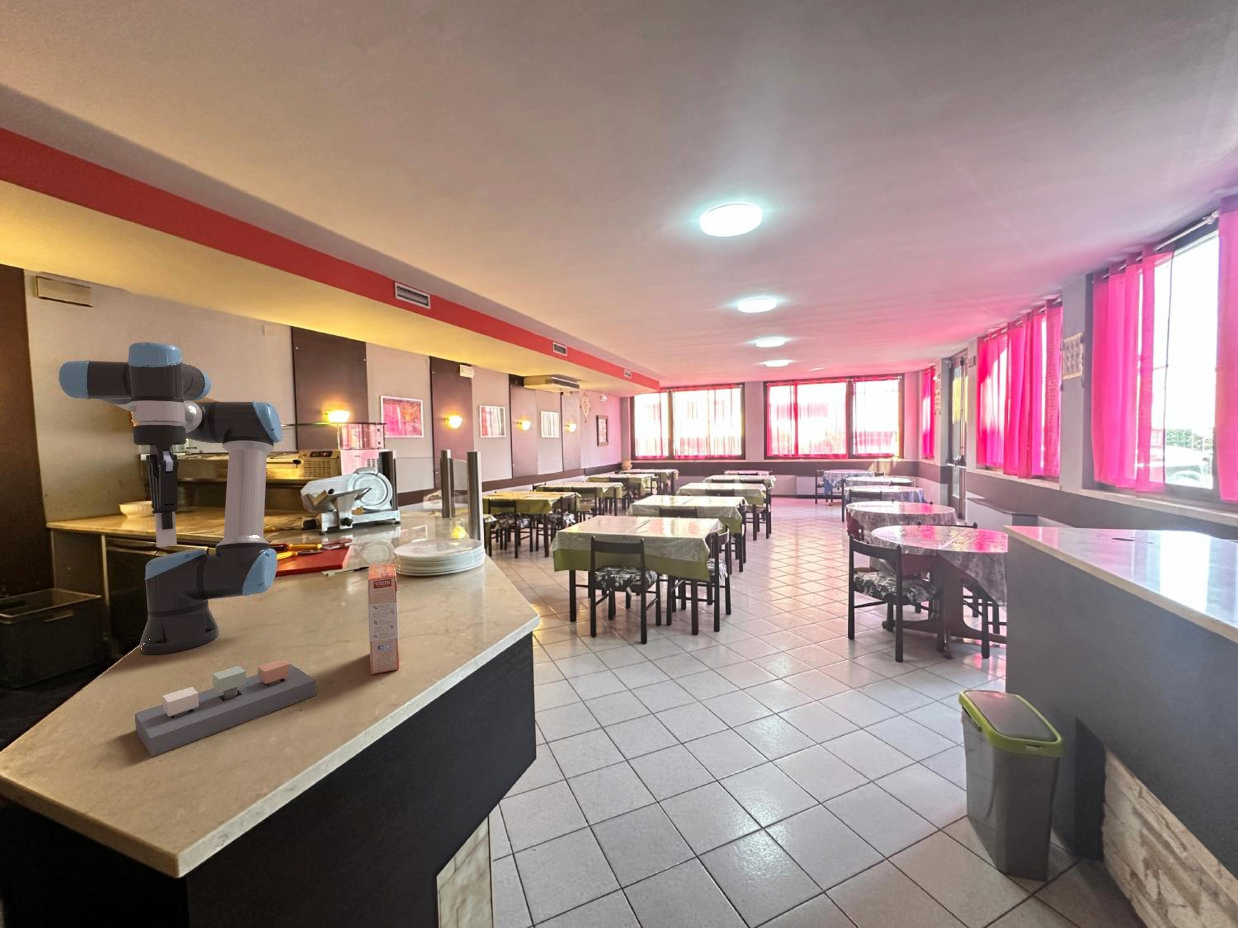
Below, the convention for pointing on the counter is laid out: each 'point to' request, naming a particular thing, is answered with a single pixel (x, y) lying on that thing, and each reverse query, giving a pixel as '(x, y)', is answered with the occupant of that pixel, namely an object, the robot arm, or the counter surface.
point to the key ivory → (180, 702)
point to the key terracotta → (273, 672)
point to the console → (221, 711)
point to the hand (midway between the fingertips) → (166, 545)
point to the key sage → (229, 681)
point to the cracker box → (383, 618)
